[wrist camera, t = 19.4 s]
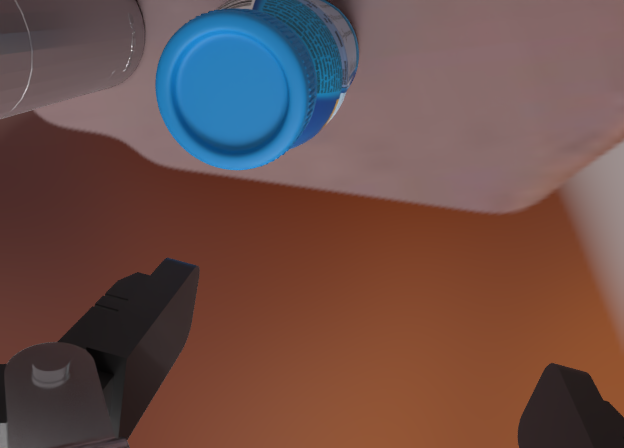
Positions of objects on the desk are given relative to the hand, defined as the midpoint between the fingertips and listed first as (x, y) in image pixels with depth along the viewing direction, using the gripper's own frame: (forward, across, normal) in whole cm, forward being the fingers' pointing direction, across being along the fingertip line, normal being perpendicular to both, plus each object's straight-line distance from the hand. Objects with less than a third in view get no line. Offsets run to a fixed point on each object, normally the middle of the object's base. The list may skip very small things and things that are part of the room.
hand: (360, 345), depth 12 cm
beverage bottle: (+32, +7, -2) cm, 33 cm away
